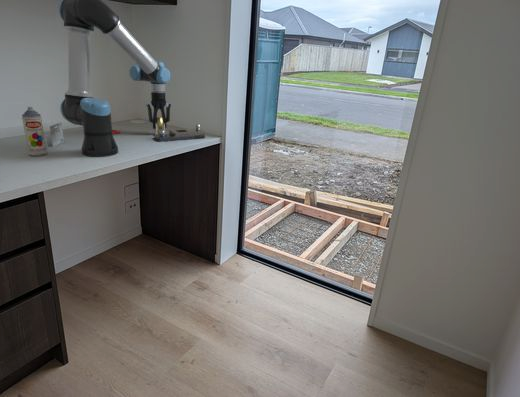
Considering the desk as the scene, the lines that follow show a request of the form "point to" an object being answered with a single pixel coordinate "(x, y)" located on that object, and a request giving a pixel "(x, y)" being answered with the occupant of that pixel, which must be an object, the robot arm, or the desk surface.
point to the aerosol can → (34, 133)
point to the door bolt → (181, 134)
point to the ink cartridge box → (55, 135)
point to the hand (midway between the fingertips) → (160, 134)
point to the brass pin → (159, 124)
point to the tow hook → (115, 131)
